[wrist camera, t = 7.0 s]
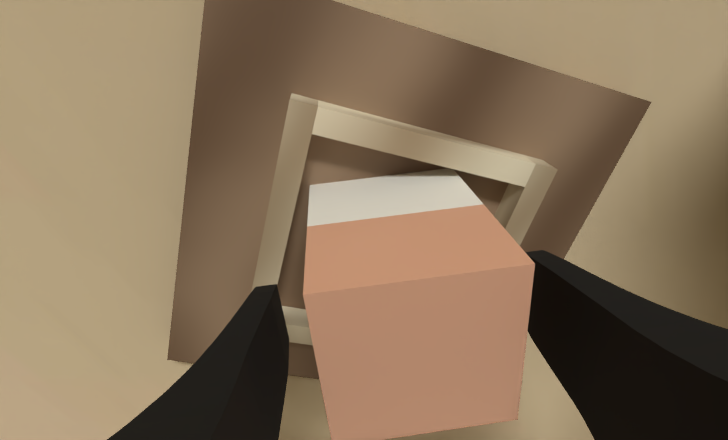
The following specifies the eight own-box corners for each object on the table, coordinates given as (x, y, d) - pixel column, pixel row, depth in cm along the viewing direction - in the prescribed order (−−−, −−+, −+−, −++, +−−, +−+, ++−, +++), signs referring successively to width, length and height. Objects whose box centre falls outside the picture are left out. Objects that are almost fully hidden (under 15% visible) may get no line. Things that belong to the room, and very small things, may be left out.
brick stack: (452, 167, 14) (535, 264, 8) (451, 284, 16) (517, 419, 11) (309, 184, 14) (303, 295, 8) (328, 301, 16) (332, 447, 10)
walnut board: (630, 96, 14) (674, 108, 13) (477, 382, 20) (492, 418, 18) (217, -35, 12) (198, -44, 10) (175, 341, 17) (158, 379, 15)
